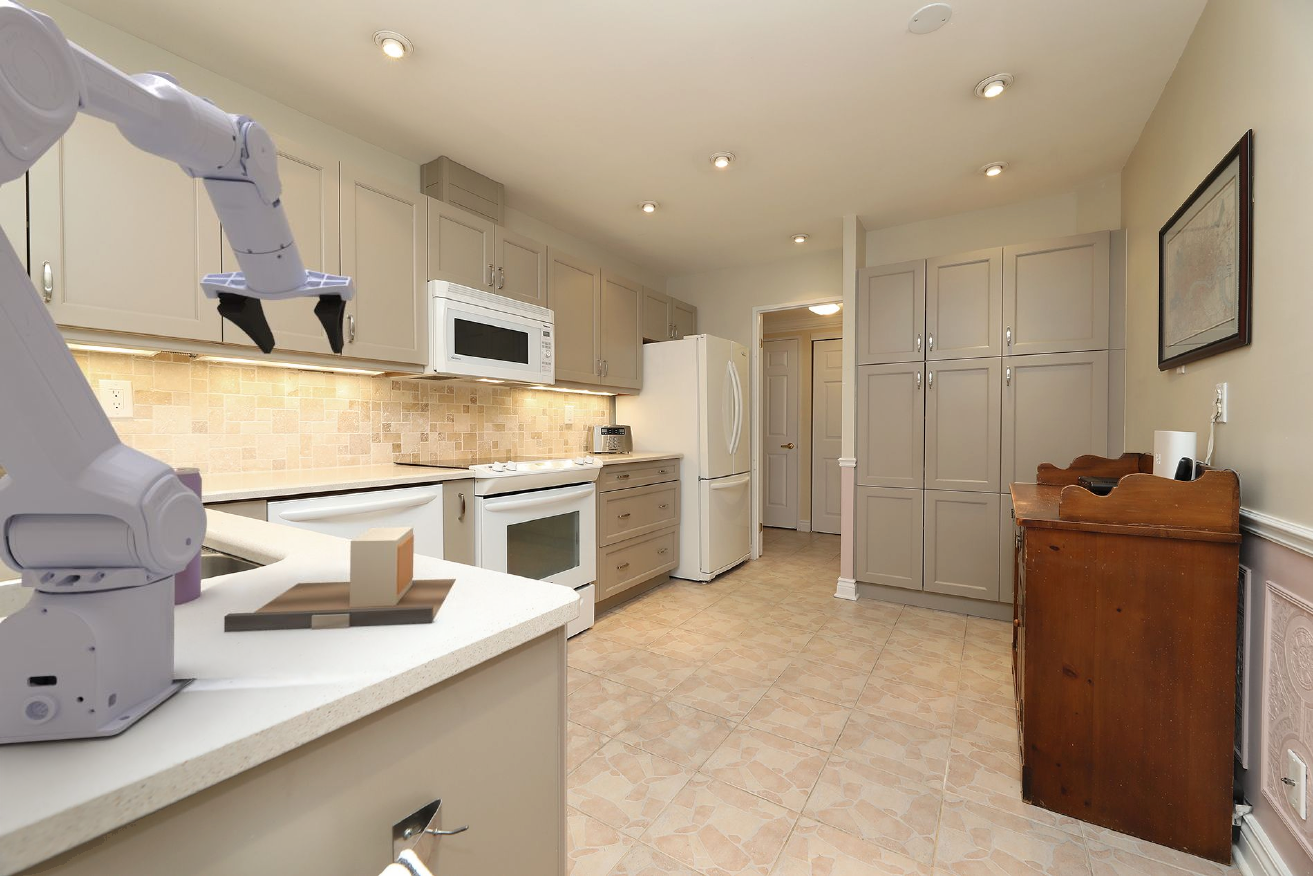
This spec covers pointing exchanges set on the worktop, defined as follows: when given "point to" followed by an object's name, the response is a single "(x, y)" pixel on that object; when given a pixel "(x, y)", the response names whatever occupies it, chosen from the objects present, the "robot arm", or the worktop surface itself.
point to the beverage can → (191, 576)
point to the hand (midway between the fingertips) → (304, 348)
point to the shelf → (340, 608)
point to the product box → (381, 566)
